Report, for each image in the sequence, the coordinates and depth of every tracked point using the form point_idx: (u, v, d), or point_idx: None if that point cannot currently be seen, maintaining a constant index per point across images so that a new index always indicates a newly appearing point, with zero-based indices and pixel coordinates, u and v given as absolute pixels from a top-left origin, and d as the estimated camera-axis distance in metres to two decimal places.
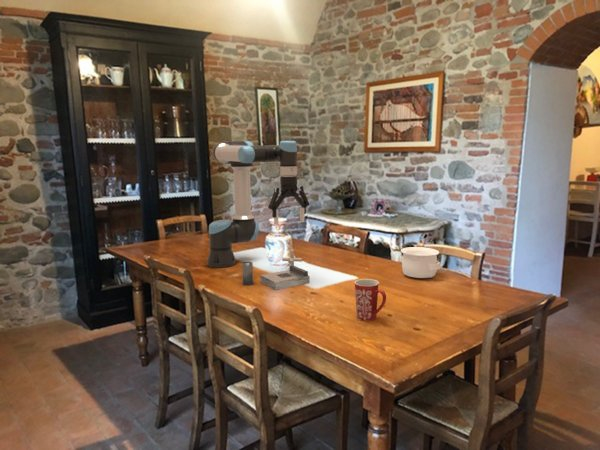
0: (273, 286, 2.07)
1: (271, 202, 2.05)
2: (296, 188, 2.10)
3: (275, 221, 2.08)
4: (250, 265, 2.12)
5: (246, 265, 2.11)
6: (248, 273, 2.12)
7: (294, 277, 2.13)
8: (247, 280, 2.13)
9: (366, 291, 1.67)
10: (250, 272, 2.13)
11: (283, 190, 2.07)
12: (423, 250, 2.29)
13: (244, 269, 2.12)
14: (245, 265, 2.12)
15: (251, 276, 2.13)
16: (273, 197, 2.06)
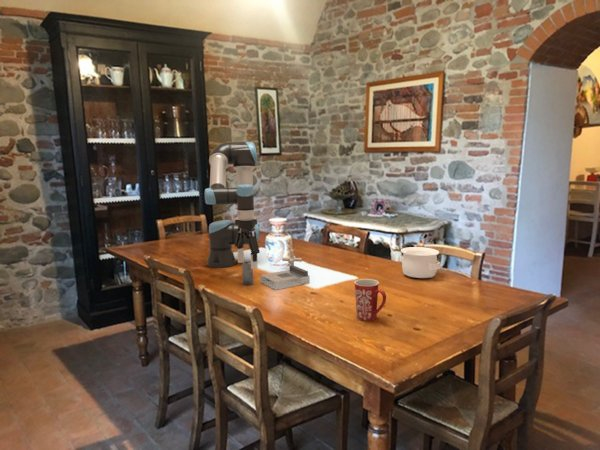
0: (273, 286, 2.07)
1: None
2: (247, 232, 2.08)
3: None
4: (250, 265, 2.12)
5: (246, 265, 2.11)
6: (248, 273, 2.12)
7: (294, 277, 2.13)
8: (247, 280, 2.13)
9: (366, 291, 1.67)
10: (250, 272, 2.13)
11: (241, 231, 2.13)
12: (423, 250, 2.29)
13: (244, 269, 2.12)
14: (245, 265, 2.12)
15: (251, 276, 2.13)
16: None
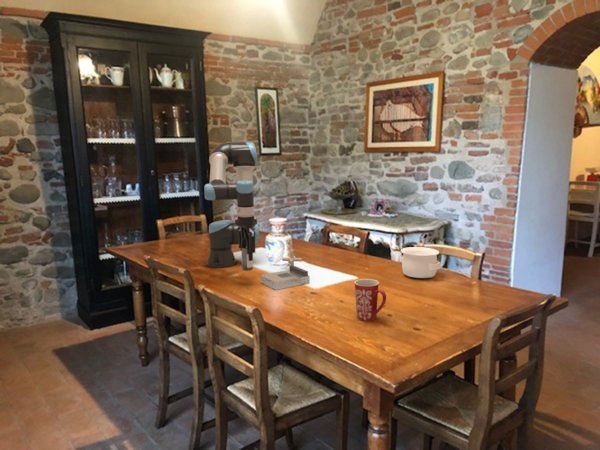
0: (273, 286, 2.07)
1: None
2: (247, 229, 2.08)
3: None
4: None
5: (246, 250, 2.11)
6: None
7: (294, 277, 2.13)
8: None
9: (366, 291, 1.67)
10: None
11: (240, 228, 2.13)
12: (423, 250, 2.29)
13: (244, 254, 2.11)
14: (245, 250, 2.11)
15: None
16: None
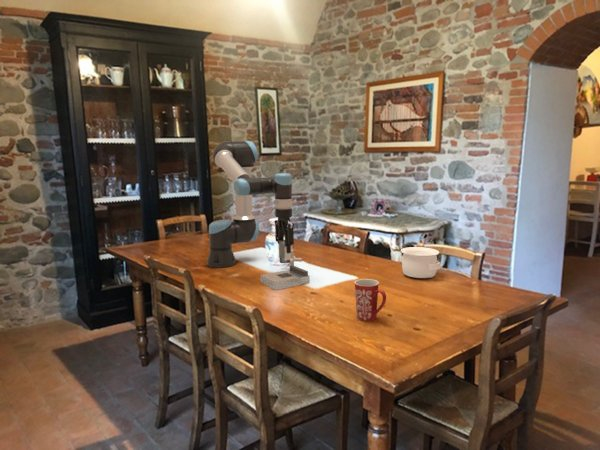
0: (273, 286, 2.07)
1: None
2: (285, 221, 2.08)
3: None
4: None
5: (283, 242, 2.11)
6: None
7: (294, 277, 2.13)
8: (284, 258, 2.12)
9: (366, 291, 1.67)
10: None
11: (278, 220, 2.14)
12: (423, 250, 2.29)
13: (281, 247, 2.11)
14: (282, 243, 2.11)
15: None
16: None
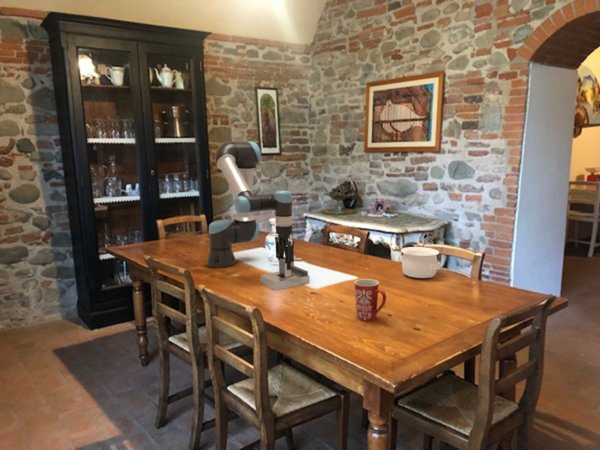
0: (273, 286, 2.07)
1: None
2: (285, 239, 2.10)
3: None
4: None
5: (284, 260, 2.12)
6: None
7: (294, 277, 2.13)
8: None
9: (366, 291, 1.67)
10: None
11: (278, 237, 2.15)
12: (423, 250, 2.29)
13: (282, 264, 2.13)
14: (283, 260, 2.12)
15: None
16: None
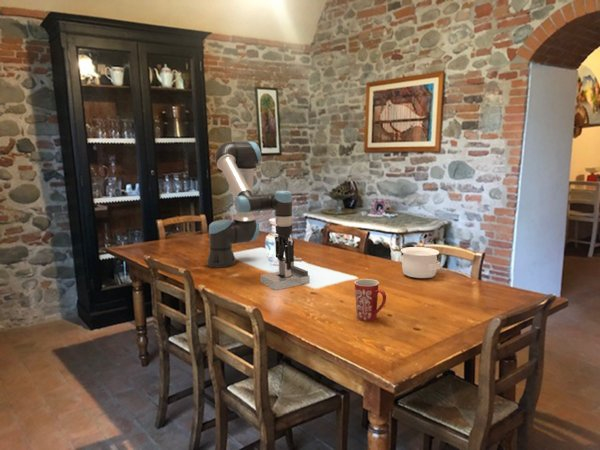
0: (273, 286, 2.07)
1: None
2: (285, 238, 2.10)
3: None
4: None
5: (284, 263, 2.13)
6: None
7: (294, 277, 2.13)
8: None
9: (366, 291, 1.67)
10: None
11: (278, 237, 2.15)
12: (423, 250, 2.29)
13: (282, 267, 2.13)
14: (283, 263, 2.13)
15: None
16: None
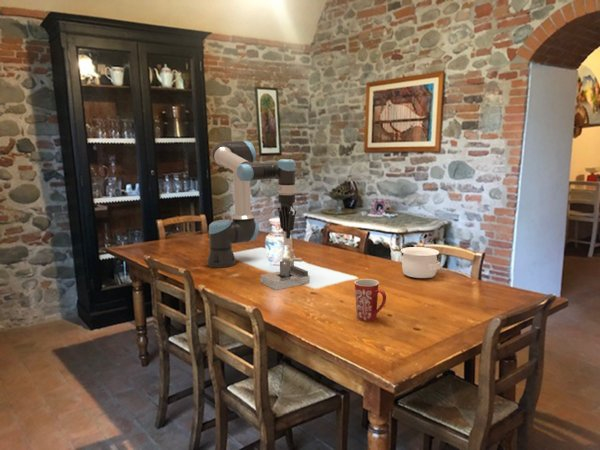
0: (273, 286, 2.07)
1: None
2: (288, 207, 2.09)
3: None
4: (288, 264, 2.13)
5: (284, 264, 2.12)
6: (286, 272, 2.13)
7: (294, 277, 2.13)
8: None
9: (366, 291, 1.67)
10: (288, 271, 2.14)
11: (281, 206, 2.15)
12: (423, 250, 2.29)
13: (282, 268, 2.13)
14: (283, 264, 2.12)
15: (289, 275, 2.14)
16: None
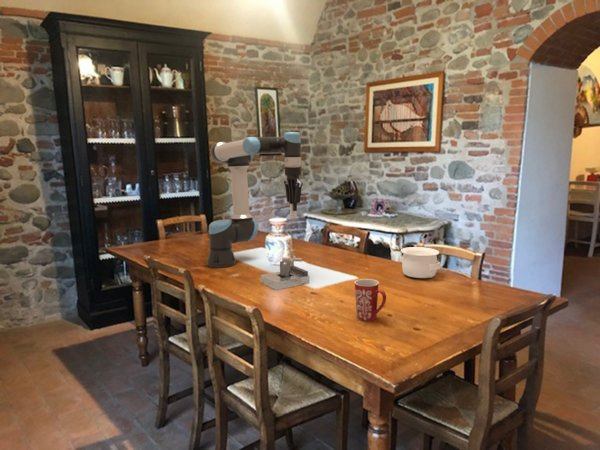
0: (273, 286, 2.07)
1: None
2: (294, 179, 2.11)
3: None
4: (288, 264, 2.13)
5: (284, 264, 2.12)
6: (286, 272, 2.13)
7: (294, 277, 2.13)
8: None
9: (366, 291, 1.67)
10: (288, 271, 2.14)
11: (287, 179, 2.17)
12: (423, 250, 2.29)
13: (282, 268, 2.13)
14: (283, 264, 2.12)
15: (289, 275, 2.14)
16: None
